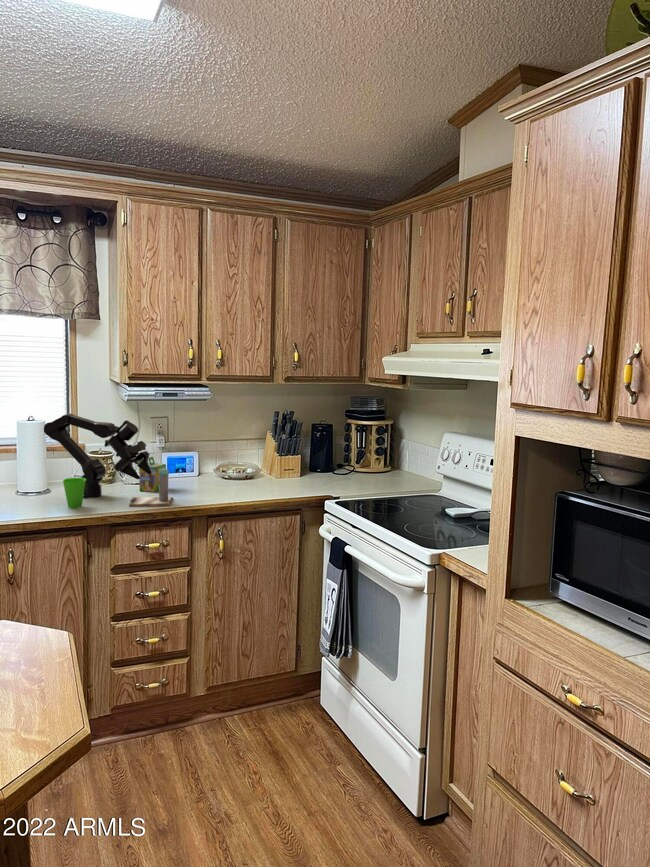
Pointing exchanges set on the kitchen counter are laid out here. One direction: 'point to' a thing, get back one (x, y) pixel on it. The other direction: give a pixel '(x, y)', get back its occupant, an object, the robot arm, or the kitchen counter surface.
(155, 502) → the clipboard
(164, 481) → the marker
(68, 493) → the cup
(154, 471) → the chalk box
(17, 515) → the kitchen counter surface
